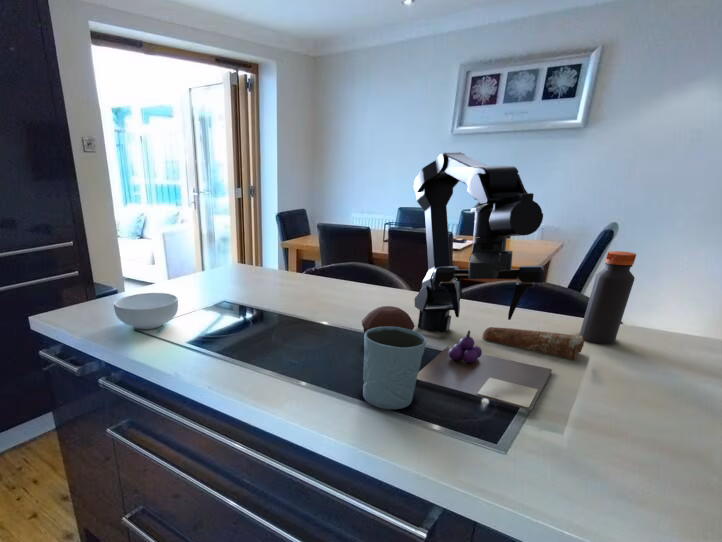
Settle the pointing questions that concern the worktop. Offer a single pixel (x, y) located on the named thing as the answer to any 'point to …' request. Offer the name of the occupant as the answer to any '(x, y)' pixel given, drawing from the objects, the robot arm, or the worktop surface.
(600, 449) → the worktop surface
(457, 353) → the grapes
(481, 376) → the serving board
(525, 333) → the bread
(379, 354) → the grey green cup
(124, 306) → the cereal bowl
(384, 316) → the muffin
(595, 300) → the bottle
